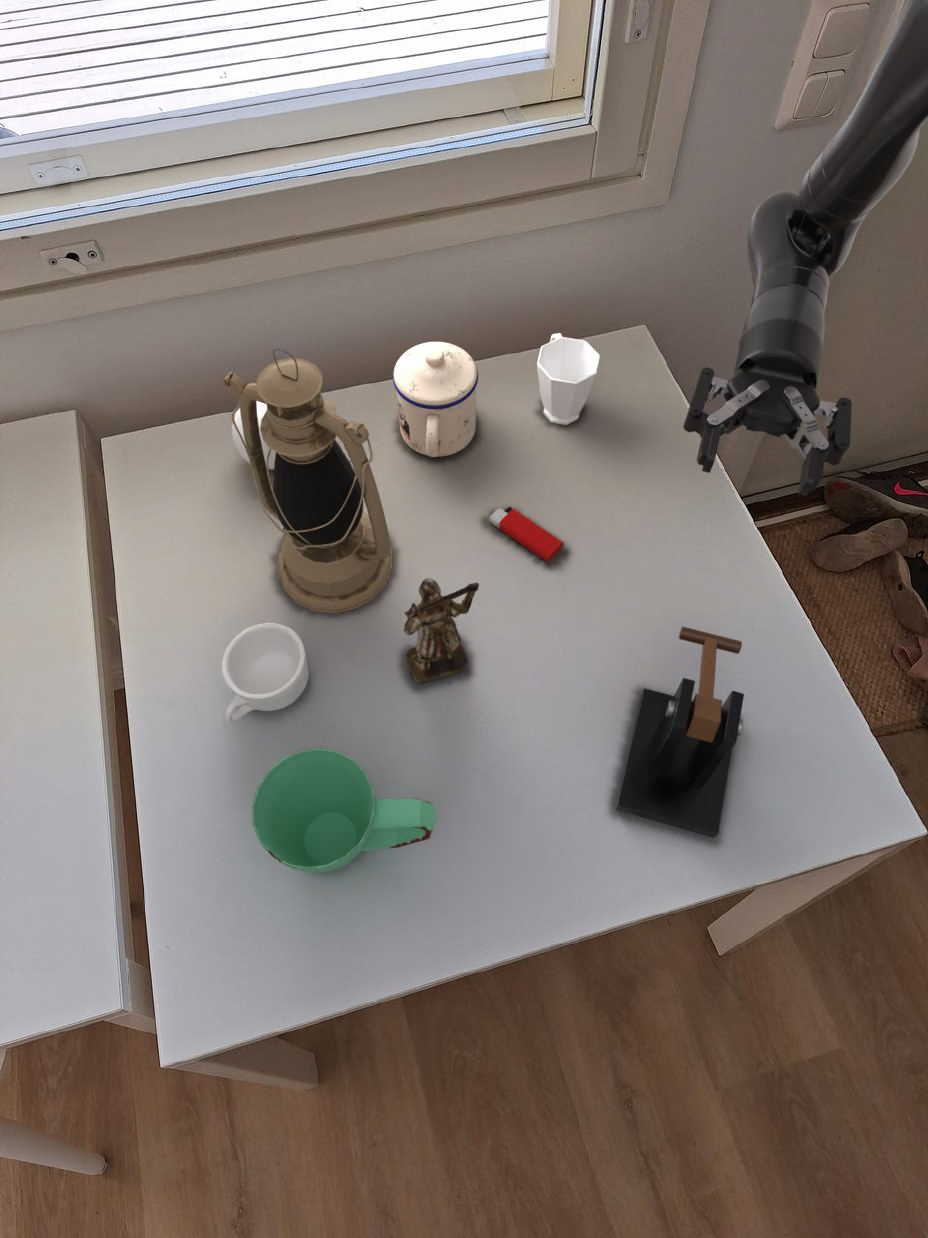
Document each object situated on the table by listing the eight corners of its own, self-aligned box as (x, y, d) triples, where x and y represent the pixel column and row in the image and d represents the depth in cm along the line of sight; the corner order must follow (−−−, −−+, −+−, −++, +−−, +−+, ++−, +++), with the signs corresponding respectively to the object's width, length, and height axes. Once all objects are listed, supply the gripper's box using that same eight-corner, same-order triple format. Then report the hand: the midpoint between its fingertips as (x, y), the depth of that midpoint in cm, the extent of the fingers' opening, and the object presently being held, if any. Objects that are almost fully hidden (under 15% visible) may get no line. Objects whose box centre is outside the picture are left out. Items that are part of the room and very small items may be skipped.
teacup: (268, 635, 89) (256, 609, 84) (330, 671, 87) (322, 646, 82) (204, 714, 85) (188, 691, 80) (267, 754, 83) (255, 733, 78)
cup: (538, 437, 101) (543, 387, 94) (521, 373, 105) (524, 321, 98) (598, 429, 101) (608, 378, 94) (578, 365, 106) (586, 313, 99)
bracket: (641, 693, 85) (667, 631, 74) (734, 718, 84) (775, 659, 73) (615, 809, 80) (639, 762, 69) (714, 838, 79) (755, 794, 67)
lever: (677, 638, 83) (684, 618, 81) (736, 653, 82) (744, 633, 80) (665, 730, 72) (673, 709, 71) (732, 748, 72) (741, 727, 70)
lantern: (245, 579, 92) (155, 370, 66) (305, 496, 97) (243, 271, 71) (367, 634, 89) (323, 437, 62) (422, 546, 94) (403, 329, 67)
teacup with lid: (402, 397, 104) (394, 320, 93) (479, 399, 103) (480, 323, 93) (392, 479, 98) (383, 406, 88) (474, 482, 98) (475, 410, 87)
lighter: (547, 558, 91) (488, 517, 94) (546, 564, 93) (487, 523, 95) (564, 540, 92) (504, 500, 95) (563, 547, 94) (504, 507, 96)
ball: (289, 494, 97) (274, 447, 90) (227, 469, 99) (208, 421, 92) (325, 442, 101) (314, 393, 93) (265, 419, 102) (249, 369, 95)
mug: (269, 895, 77) (243, 868, 68) (282, 785, 81) (259, 747, 72) (438, 897, 76) (434, 870, 68) (441, 787, 81) (437, 749, 72)
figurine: (474, 633, 89) (475, 552, 76) (486, 666, 87) (489, 589, 74) (403, 653, 88) (391, 573, 75) (413, 686, 86) (403, 611, 73)
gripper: (716, 301, 82) (685, 431, 75) (872, 333, 80) (856, 470, 73) (697, 359, 89) (667, 485, 82) (841, 390, 87) (823, 522, 80)
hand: (756, 478), depth 77 cm, fingers open, 8 cm apart
